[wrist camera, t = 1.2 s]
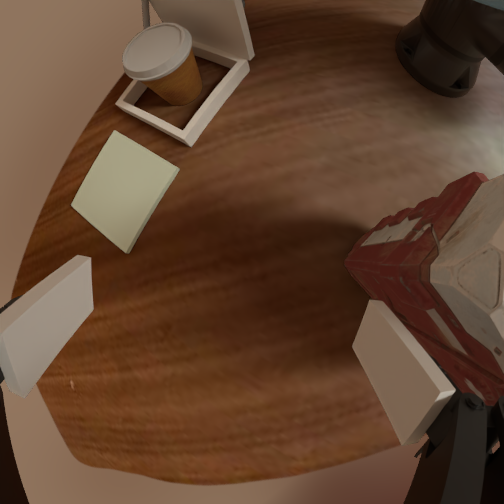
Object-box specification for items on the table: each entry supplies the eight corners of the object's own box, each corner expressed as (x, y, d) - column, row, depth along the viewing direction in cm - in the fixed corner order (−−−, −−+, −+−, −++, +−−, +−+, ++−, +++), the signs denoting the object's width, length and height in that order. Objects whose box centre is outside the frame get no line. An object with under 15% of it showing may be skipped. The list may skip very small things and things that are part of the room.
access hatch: (178, 39, 40) (137, -29, 22) (257, 66, 38) (236, -20, 20) (120, 109, 41) (54, 57, 23) (194, 148, 39) (132, 85, 21)
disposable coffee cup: (224, 74, 39) (203, 24, 27) (191, 123, 39) (157, 82, 27) (177, 60, 40) (148, 17, 28) (144, 105, 41) (106, 68, 29)
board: (117, 132, 41) (114, 130, 40) (180, 169, 39) (177, 167, 38) (74, 206, 42) (70, 205, 41) (129, 253, 40) (125, 253, 39)
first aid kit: (330, 263, 37) (459, 284, 7) (374, 217, 36) (546, 129, 6) (430, 375, 34) (554, 494, 4) (467, 333, 33) (617, 404, 4)
